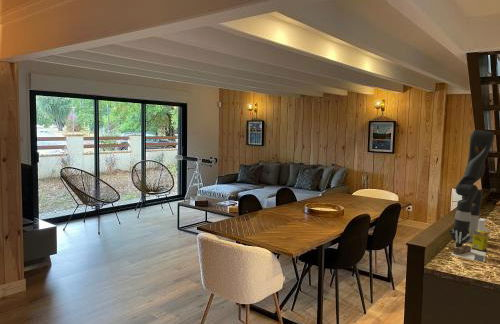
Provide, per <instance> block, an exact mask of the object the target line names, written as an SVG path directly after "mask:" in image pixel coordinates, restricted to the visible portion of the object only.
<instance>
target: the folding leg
mask: <svg viewBox="0 0 500 324" xmlns="http://www.w3.org/2000/svg"><path fill="white" fill-rule="evenodd" d="M471 250H472V245H471V246H470V245H468V244H467V245H466V244H465V245H462V246H461V247H453V251H452V253H453V254H456V255H459V254H464V253H468V252H471Z"/></svg>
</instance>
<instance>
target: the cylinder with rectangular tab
mask: <svg viewBox="0 0 500 324" xmlns="http://www.w3.org/2000/svg"><path fill="white" fill-rule="evenodd" d="M486 221H487V219H486V218H482V217H479V223H478V230H481V231H486V232H489V233H490V229H489V228H486V227H485V226H486Z"/></svg>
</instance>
